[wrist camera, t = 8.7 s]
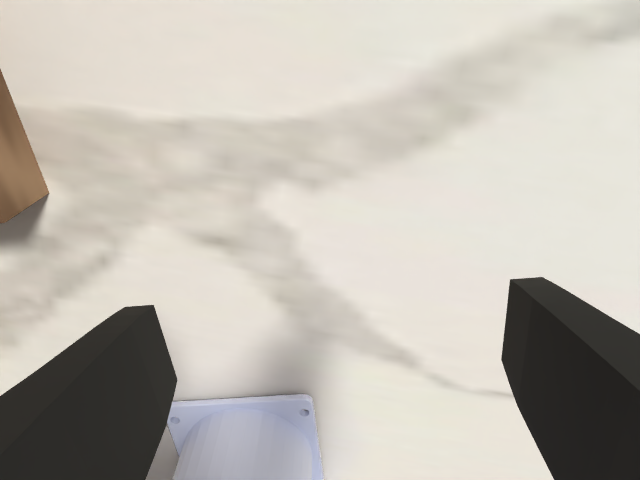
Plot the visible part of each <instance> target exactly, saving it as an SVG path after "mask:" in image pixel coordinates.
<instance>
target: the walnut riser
mask: <svg viewBox="0 0 640 480" xmlns="http://www.w3.org/2000/svg"><path fill="white" fill-rule="evenodd" d="M48 193H49V191H48V188H47V186H46V183H45V181H44V178H43V176H42V173H41V171H40V168H39V166H38V163H37V161H36V158H35V156H34V153H33V151H32V148H31V145H30V143H29V140H28V138H27V135H26V133H25V130H24V128H23V125H22V123H21V120H20V118H19V115H18V113H17V110H16V108H15V105H14V102H13V100H12V97H11V95H10V92H9V90H8V87H7V85H6V82H5V80H4V77H3V75H2V72H1V70H0V223H5V222H7V221H8V220H10V219H11V218H13V217H14V216H16V215H17V214H19V213H20V212H22V211H23V210H25V209H26V208H28V207H29V206H31V205H32V204H34V203H35V202H36V201H38V200H39V199H41V198H42V197H44V196H45V195H47V194H48Z"/></svg>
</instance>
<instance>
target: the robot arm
mask: <svg viewBox="0 0 640 480" xmlns="http://www.w3.org/2000/svg"><path fill="white" fill-rule="evenodd" d="M501 360H502V363H503V366H504V369H505V372H506V375H507V378H508V381H509V384H510V387H511V389H512V392H513V395H514V398H515V400H516V403H517V406H518V408H519V410H520V412H521V414H522V416H523V418H524V420H525V422H526V424H527V426H528V428H529V430H530V432H531V434H532V436H533V438H534V440H535V442H536V445H537V446H538V448H539V450H540V452H541V454H542V456H543V458H544V460H545V462H546V464H547V466H548V468H549V470H550V472H551V474H552V476H553V478H554V480H640V334H638V333H637V332H635V331H633V330H632V329H630V328H628V327H626V326H625V325H623V324H621V323H620V322H618V321H616V320H615V319H613V318H611V317H610V316H608V315H606V314H604V313H603V312H601V311H600V310H598V309H596V308H595V307H593V306H591V305H590V304H588V303H586V302H585V301H583V300H581V299H580V298H578V297H576V296H575V295H573V294H571V293H570V292H568V291H566V290H565V289H563V288H561V287H559V286H558V285H556V284H554V283H552V282H550V281H548V280H547V279H545V278H543V277H538V278H524V279H510V286H509V295H508V304H507V313H506V323H505V332H504V341H503V350H502V359H501ZM176 383H177V377H176V374H175V371H174V368H173V365H172V361H171V358H170V355H169V352H168V349H167V346H166V343H165V339H164V336H163V333H162V330H161V327H160V324H159V320H158V317H157V314H156V311H155V308H154V305H146V306H132V307H124V308H123V309H121V310H119V311H118V312H116V313H115V314H113V315H112V316H110V317H109V318H107V319H106V320H105V321H103V322H102V323H100V324H99V325H98V326H96V327H95V328H93V329H92V330H91V331H89V332H88V333H87V334H85V335H84V336H83V337H81V338H80V339H79V340H77V341H76V342H75V343H73V344H72V345H71V346H69V347H68V348H67V349H65V350H64V351H62V352H61V353H60V354H58V355H57V356H56V357H54V358H53V359H52V360H50V361H49V362H48V363H46V364H45V365H44V366H42V367H41V368H40V369H38V370H37V371H35V372H34V373H33V374H31V375H30V376H28V377H27V378H26V379H24V380H23V381H21V382H20V383H18V384H17V385H16V386H14V387H13V388H11V389H10V390H8V391H7V392H5V393H4V394H3V395H1V396H0V480H145V479H146V476H147V474H148V471H149V469H150V466H151V464H152V461H153V458H154V456H155V453H156V451H157V448H158V445H159V443H160V440H161V438H162V435H163V432H164V430H165V427H166V424H168V427H169V430H170V433H171V435H172V438H173V441H174V444H175V447H176V450H177V453H178V455H179V460H178V463H177V467H176V470H175V473H174V476H173V479H172V480H324V475H323V468H322V461H321V454H320V447H319V440H318V433H317V425H316V418H315V411H314V404H313V399H312V398H311V397H310V396H309V395H306V394H295V395H278V396H261V397H244V398H227V399H210V400H193V401H176V402H172V401H173V396H174V392H175V388H176ZM303 409H305V410H306V411H304V410H303ZM176 417H177V418H176Z"/></svg>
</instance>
